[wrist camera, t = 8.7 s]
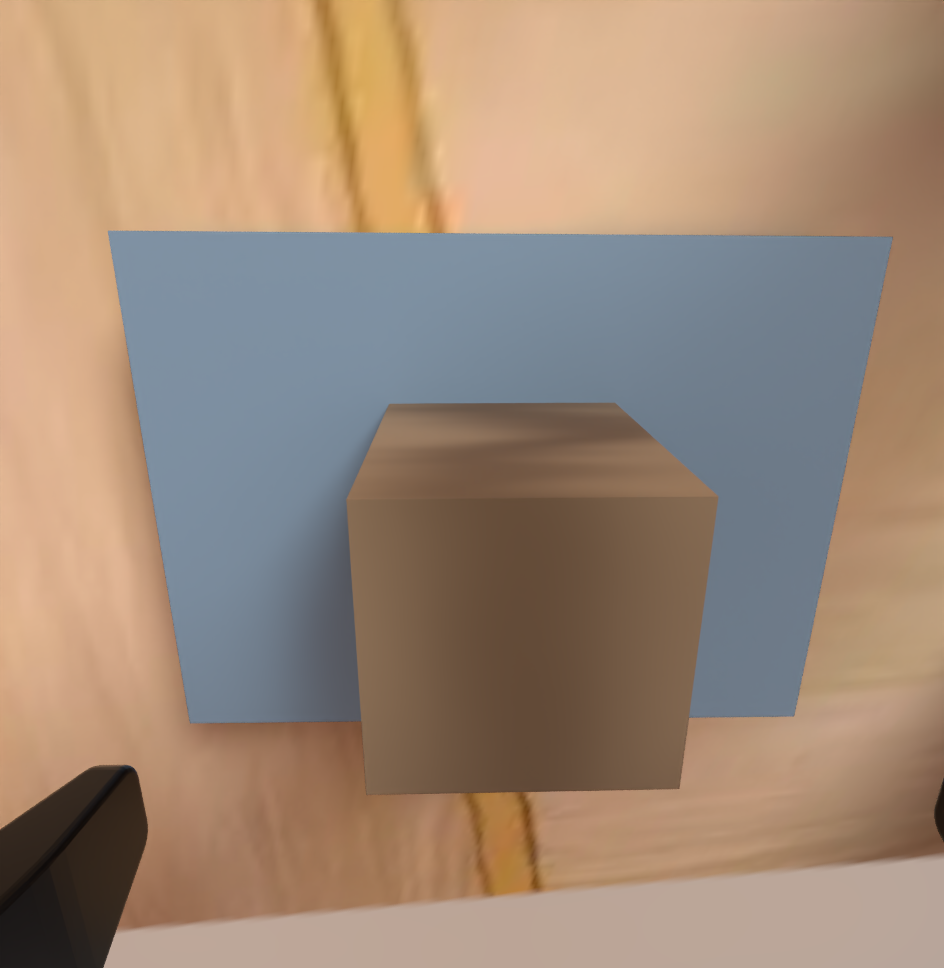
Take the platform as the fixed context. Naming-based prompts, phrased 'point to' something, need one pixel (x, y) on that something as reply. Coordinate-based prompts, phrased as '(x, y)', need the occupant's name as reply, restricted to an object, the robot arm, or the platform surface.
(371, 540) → the walnut block
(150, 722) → the platform surface
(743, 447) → the book
